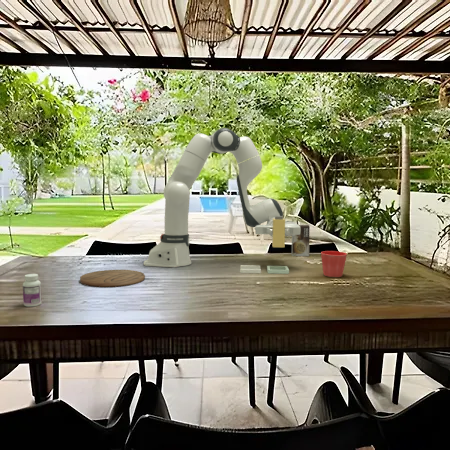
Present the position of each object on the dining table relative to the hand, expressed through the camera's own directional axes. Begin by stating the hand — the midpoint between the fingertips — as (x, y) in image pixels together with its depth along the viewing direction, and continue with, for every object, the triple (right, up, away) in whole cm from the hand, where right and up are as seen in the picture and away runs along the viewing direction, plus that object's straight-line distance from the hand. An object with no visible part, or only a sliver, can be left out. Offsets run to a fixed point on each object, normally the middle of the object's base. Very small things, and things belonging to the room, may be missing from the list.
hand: (278, 231), depth 192 cm
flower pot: (+23, -19, -4) cm, 30 cm away
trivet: (-68, -19, -16) cm, 73 cm away
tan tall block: (0, -6, +2) cm, 7 cm away
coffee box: (+17, -13, +45) cm, 50 cm away
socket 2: (0, -17, +3) cm, 18 cm away
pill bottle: (-85, -23, -51) cm, 102 cm away
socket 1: (-12, -17, +3) cm, 21 cm away
